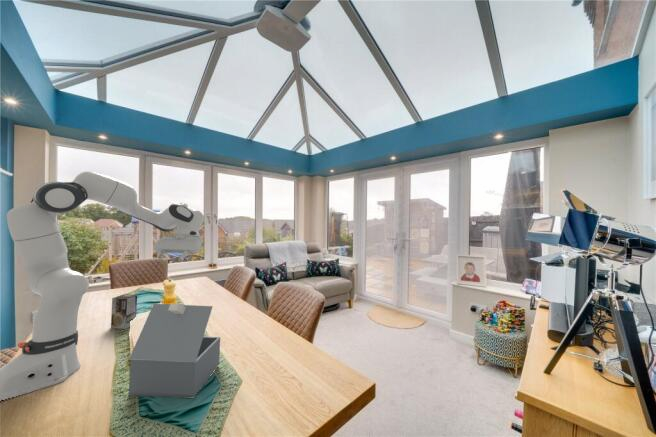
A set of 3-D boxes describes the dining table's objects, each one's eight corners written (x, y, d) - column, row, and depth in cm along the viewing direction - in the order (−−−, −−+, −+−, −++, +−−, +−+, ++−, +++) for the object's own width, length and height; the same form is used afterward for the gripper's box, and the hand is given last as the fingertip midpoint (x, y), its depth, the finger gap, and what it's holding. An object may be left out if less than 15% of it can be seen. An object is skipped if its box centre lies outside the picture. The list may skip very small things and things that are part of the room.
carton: (193, 398, 79) (195, 362, 80) (128, 395, 80) (130, 359, 80) (218, 366, 97) (220, 337, 98) (165, 364, 98) (167, 334, 98)
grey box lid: (195, 362, 80) (187, 360, 75) (130, 359, 80) (118, 357, 75) (212, 306, 90) (206, 302, 85) (155, 304, 90) (145, 299, 86)
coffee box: (136, 324, 133) (138, 295, 133) (125, 329, 126) (127, 298, 127) (121, 323, 134) (123, 294, 134) (109, 328, 127) (111, 297, 128)
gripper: (160, 231, 115) (143, 254, 105) (202, 232, 115) (189, 255, 105) (166, 239, 120) (150, 262, 110) (206, 241, 120) (194, 264, 109)
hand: (169, 259), depth 107 cm, fingers open, 8 cm apart
